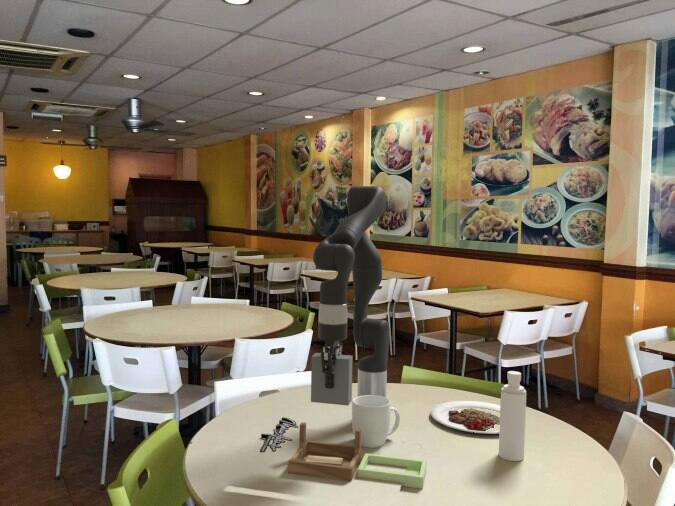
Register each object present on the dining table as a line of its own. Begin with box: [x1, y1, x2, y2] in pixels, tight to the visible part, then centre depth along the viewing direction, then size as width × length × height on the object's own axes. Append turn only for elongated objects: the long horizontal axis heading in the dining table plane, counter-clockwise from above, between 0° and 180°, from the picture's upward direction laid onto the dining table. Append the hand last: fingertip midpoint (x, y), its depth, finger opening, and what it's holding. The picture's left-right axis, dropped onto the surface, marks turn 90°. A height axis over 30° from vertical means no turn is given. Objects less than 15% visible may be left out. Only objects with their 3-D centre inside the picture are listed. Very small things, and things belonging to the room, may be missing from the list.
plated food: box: [430, 400, 500, 435], centre depth 182 cm, size 30×30×3 cm
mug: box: [351, 395, 401, 449], centre depth 160 cm, size 15×11×13 cm
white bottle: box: [498, 370, 527, 462], centre depth 153 cm, size 7×7×25 cm
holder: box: [357, 452, 427, 490], centre depth 141 cm, size 10×16×3 cm, turn 76°
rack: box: [288, 422, 364, 482], centre depth 144 cm, size 14×16×10 cm
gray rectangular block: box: [310, 352, 354, 406], centre depth 145 cm, size 4×10×12 cm, turn 76°
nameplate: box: [259, 416, 299, 453], centre depth 165 cm, size 27×2×10 cm
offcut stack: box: [305, 455, 344, 466], centre depth 140 cm, size 4×10×3 cm, turn 76°
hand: (331, 385), depth 146 cm, fingers closed on gray rectangular block, 4 cm apart
